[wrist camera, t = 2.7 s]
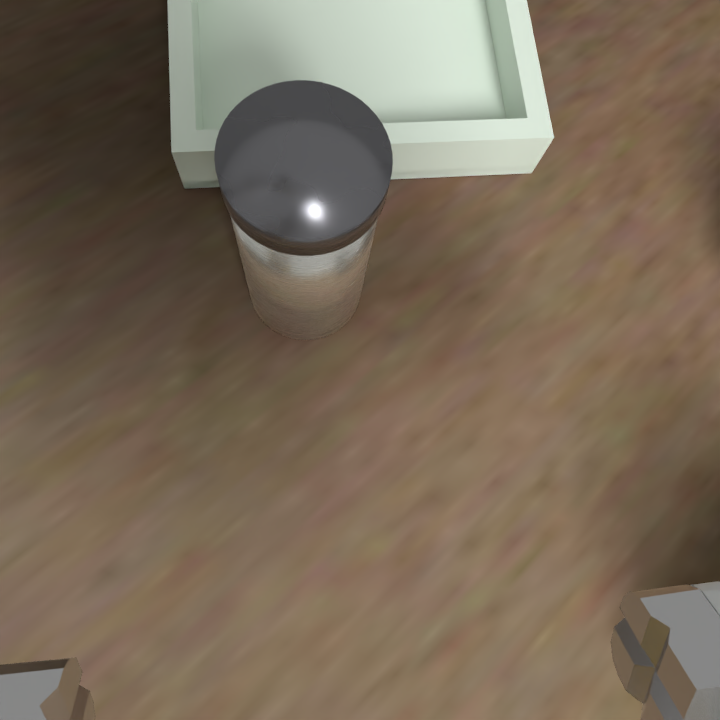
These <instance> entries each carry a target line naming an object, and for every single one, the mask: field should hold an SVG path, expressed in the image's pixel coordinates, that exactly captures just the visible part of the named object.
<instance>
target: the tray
mask: <svg viewBox="0 0 720 720" xmlns="http://www.w3.org/2000/svg"><path fill="white" fill-rule="evenodd" d="M168 38H169V76H170V115H171V153H172V155H173V158H174V161H175V164H176V167H177V169H178V172H179V175H180V178H181V180H182V183H183V186H184V189H187V188H210V187H220V186H219V182H218V178H217V174H216V170H215V161H214V153H215V145H216V139H217V136H218V133H219V130H220V128H221V126H222V124H223V122H224V120H225V119H226V117H227V116H228V115H229V113H230V112H231V111H232V110H233V109H234V107H235V106H236V105H237V104H238V103H240V102H241V101H242V100H243V99H244V98H246V97H247V96H249V95H250V94H252V93H254V92H255V91H257V90H259V89H262V88H264V87H266V86H269V85H272V84H275V83H280V82H285V81H294V80H310V81H317V82H322V83H326V84H330V85H333V86H336V87H339V88H341V89H343V90H345V91H347V92H349V93H351V94H353V95H354V96H356V97H357V98H359V99H360V100H362V101H363V102H364V103H365V104H366V105H367V106H369V107H370V109H371V110H372V111H373V112H374V113H375V114H376V115H377V117H378V118H379V120H380V121H381V122H382V124H383V126H384V128H385V130H386V132H387V134H388V137H389V140H390V143H391V148H392V154H393V167H392V175H391V179H411V178H433V177H455V176H478V175H500V174H522V173H532V172H533V170H534V169H535V167H536V165H537V164H538V162H539V161H540V159H541V157H542V156H543V154H544V153H545V151H546V149H547V148H548V146H549V145H550V143H551V142H552V140H553V138H554V135H553V130H552V125H551V120H550V115H549V110H548V105H547V100H546V95H545V90H544V85H543V80H542V75H541V70H540V65H539V60H538V55H537V50H536V45H535V40H534V35H533V30H532V25H531V20H530V15H529V9H528V4H527V0H168Z"/></svg>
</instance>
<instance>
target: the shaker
mask: <svg viewBox="0 0 720 720" xmlns="http://www.w3.org/2000/svg"><path fill="white" fill-rule="evenodd" d="M214 161H215V170H216V174H217V178H218V182H219V186H220V190H221V193H222V197H223V201H224V203H225V206H226V208H227V210H228V212H229V214H230V216H231V220H232V224H233V228H234V232H235V236H236V240H237V244H238V248H239V252H240V257H241V261H242V265H243V269H244V273H245V277H246V281H247V285H248V289H249V293H250V297H251V301H252V304H253V307H254V309H255V311H256V313H257V314H258V316H259V317H260V319H261V320H262V321H263V322H264V323H265V324H266V325H267V326H268V327H269V328H271V329H272V330H273V331H275V332H277V333H279V334H280V335H283V336H285V337H288V338H292V339H298V340H314V339H319V338H323V337H326V336H328V335H331V334H333V333H334V332H336V331H338V330H339V329H341V328H342V327H343V326H344V325H345V324H346V323H347V322H348V321H349V320H350V319H351V317H352V316H353V314H354V313H355V311H356V309H357V306H358V304H359V300H360V295H361V291H362V287H363V282H364V278H365V273H366V269H367V265H368V260H369V256H370V251H371V247H372V243H373V238H374V234H375V229H376V225H377V220H378V217H379V215H380V213H381V211H382V209H383V206H384V204H385V200H386V196H387V192H388V187H389V183H390V179H391V175H392V167H393V154H392V148H391V143H390V140H389V137H388V134H387V132H386V130H385V128H384V126H383V124H382V122H381V121H380V120H379V118H378V117H377V115H376V114H375V113H374V112H373V111H372V110H371V109H370V107H369V106H367V105H366V104H365V103H364V102H363V101H362V100H360V99H359V98H357V97H356V96H354V95H353V94H351V93H349V92H347V91H345V90H343V89H341V88H339V87H336V86H333V85H330V84H326V83H322V82H317V81H310V80H294V81H285V82H280V83H275V84H272V85H269V86H266V87H264V88H262V89H259V90H257V91H255V92H254V93H252V94H250V95H249V96H247V97H246V98H244V99H243V100H242V101H241V102H240V103H238V104H237V105H236V106H235V107H234V109H233V110H232V111H231V112H230V113H229V115H228V116H227V117H226V119H225V120H224V122H223V124H222V126H221V128H220V130H219V133H218V136H217V139H216V145H215V153H214Z"/></svg>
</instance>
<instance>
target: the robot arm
mask: <svg viewBox="0 0 720 720" xmlns="http://www.w3.org/2000/svg"><path fill="white" fill-rule="evenodd" d="M620 609H621V611H622V613H623V615H624V617H625V618H624V619H623V620H622V621H620V622H619V623H618V624H617V625H616V626H615V627H614V630H613V634H612V639H611V648H612V657H613V662H614V665H615V668H616V671H617V674H618V676H619V678H620V680H621V682H622V684H623V686H624V688H625V690H626V691H627V692H628V693H630V694H631V695H632V696H633V697H635V698H636V699H637V700H639V701H640V702H641V703H643V707H642V714H641V720H720V581H716V582H708V583H701V584H694V585H687V584H685V585H677V586H670V587H662V588H655V589H647V590H640V591H633V592H629V593H627V594H626V595H625V596H624V597H623V599H622V602H621V605H620ZM81 676H82V669H81V667H80V665H79V663H78V660H77V658H76V657H75V658H65V659H55V660H44V661H34V662H24V663H14V664H4V665H0V720H95V710H94V702H93V699H92V696H91V693H90V691H89V690H87V689H85V688H84V687H82V686H80V685H79V683H80V679H81Z"/></svg>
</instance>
